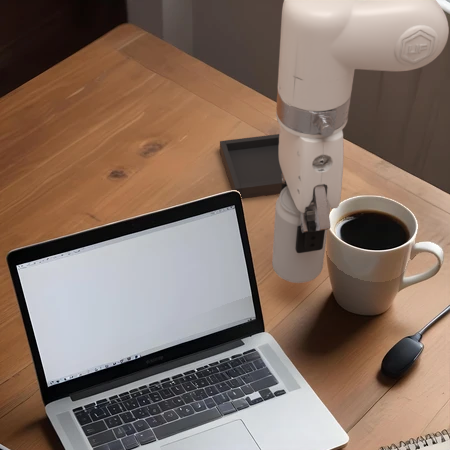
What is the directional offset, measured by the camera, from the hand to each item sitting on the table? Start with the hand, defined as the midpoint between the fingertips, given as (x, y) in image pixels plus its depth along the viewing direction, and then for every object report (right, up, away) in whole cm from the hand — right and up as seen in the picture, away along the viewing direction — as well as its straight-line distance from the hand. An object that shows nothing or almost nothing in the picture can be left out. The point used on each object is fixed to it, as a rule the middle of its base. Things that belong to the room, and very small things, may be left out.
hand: (300, 228), depth 100 cm
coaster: (-3, +12, +26) cm, 29 cm away
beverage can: (0, -5, +6) cm, 7 cm away
